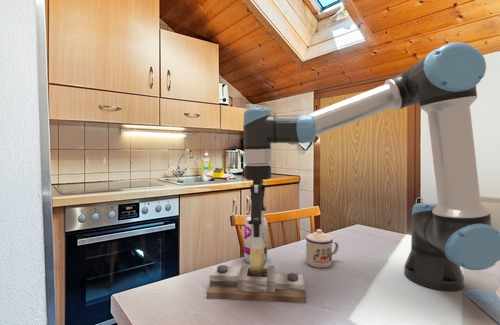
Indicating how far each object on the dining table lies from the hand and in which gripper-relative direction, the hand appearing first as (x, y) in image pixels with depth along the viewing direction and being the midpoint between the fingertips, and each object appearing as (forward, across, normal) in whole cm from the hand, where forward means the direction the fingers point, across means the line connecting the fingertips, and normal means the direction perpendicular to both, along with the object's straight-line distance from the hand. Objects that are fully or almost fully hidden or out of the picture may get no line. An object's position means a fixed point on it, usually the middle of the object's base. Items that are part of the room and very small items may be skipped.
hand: (258, 240), depth 77 cm
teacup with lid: (+14, -20, +21) cm, 32 cm away
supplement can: (+14, -20, -2) cm, 24 cm away
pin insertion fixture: (+14, 0, 0) cm, 14 cm away
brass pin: (+12, 0, 0) cm, 12 cm away
